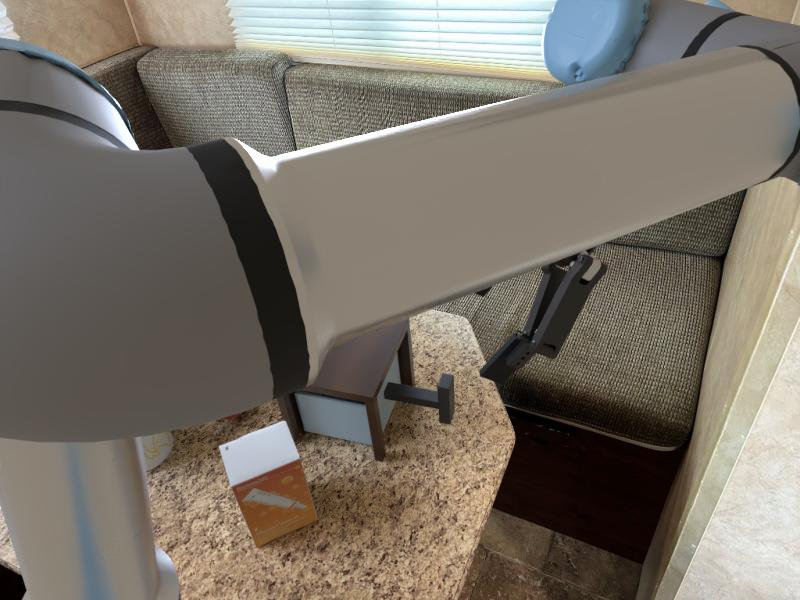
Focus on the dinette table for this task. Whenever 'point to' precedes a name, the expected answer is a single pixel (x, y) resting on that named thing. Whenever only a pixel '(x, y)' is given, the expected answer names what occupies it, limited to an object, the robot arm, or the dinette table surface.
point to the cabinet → (359, 377)
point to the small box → (269, 482)
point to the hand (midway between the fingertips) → (481, 331)
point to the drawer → (351, 415)
